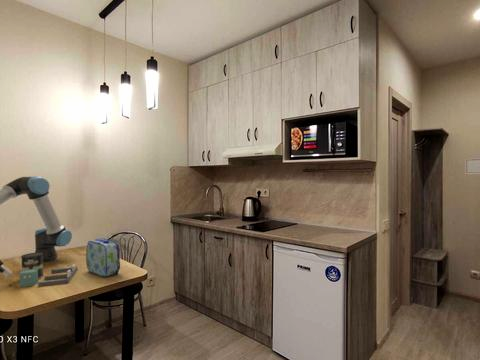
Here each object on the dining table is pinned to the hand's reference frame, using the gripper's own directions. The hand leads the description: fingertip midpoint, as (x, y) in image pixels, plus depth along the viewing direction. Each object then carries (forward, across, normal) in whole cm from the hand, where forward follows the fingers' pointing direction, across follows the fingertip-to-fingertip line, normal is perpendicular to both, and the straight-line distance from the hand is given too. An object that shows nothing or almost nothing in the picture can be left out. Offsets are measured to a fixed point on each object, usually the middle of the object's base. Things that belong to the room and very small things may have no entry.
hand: (9, 274), depth 155 cm
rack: (+20, -8, +11) cm, 24 cm away
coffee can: (+10, -13, 0) cm, 16 cm away
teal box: (+11, -1, +1) cm, 11 cm away
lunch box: (+37, -7, +28) cm, 47 cm away
